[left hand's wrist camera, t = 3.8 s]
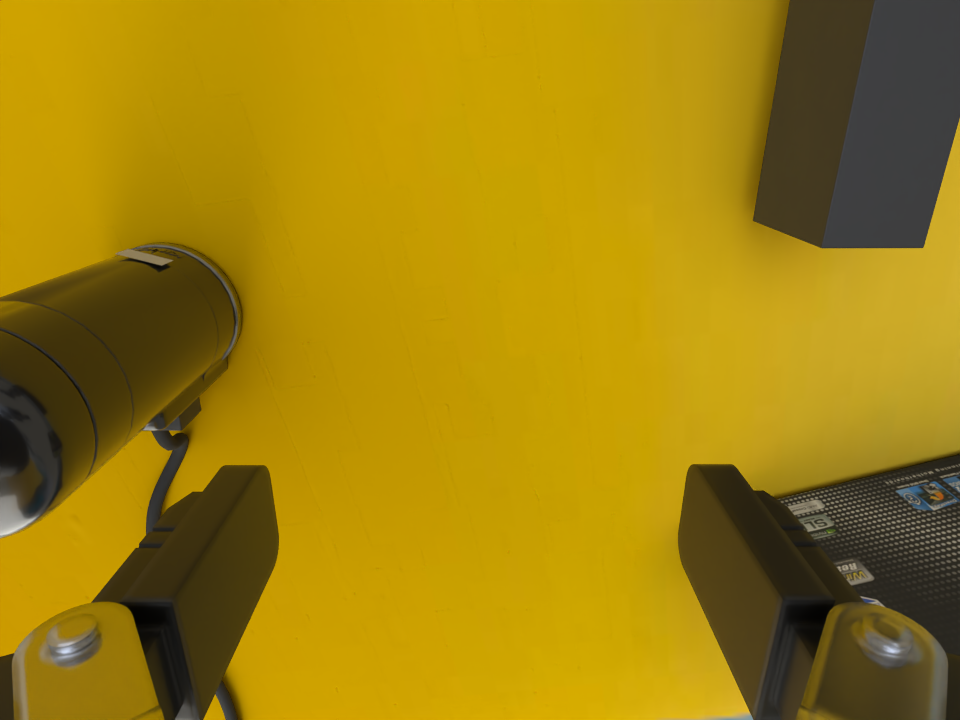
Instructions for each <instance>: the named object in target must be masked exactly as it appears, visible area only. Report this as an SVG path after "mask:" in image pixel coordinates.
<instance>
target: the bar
mask: <svg viewBox="0 0 960 720" xmlns="http://www.w3.org/2000/svg"><path fill="white" fill-rule="evenodd" d="M959 118H960V0H790V4H789V10H788V16H787V22H786V28H785V34H784V39H783V45H782V51H781V57H780V63H779V69H778V75H777V81H776V87H775V93H774V99H773V105H772V111H771V117H770V122H769V128H768V134H767V140H766V146H765V152H764V158H763V164H762V170H761V176H760V182H759V188H758V194H757V200H756V206H755V211H754V217H753V221H755V222H757V223H760V224H762V225H765V226H767V227H770V228H772V229H775V230H778V231H780V232H783V233H785V234H788V235H790V236H793V237H795V238H798V239H800V240H803V241H805V242H808V243H810V244H813V245H815V246H818V247H820V248H923V247H924V244H925V240H926V236H927V233H928V229H929V226H930V222H931V218H932V215H933V211H934V208H935V204H936V201H937V197H938V193H939V190H940V186H941V183H942V179H943V176H944V172H945V168H946V165H947V161H948V158H949V154H950V151H951V147H952V143H953V140H954V136H955V133H956V129H957V125H958V122H959Z"/></svg>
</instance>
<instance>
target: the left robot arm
mask: <svg viewBox="0 0 960 720" xmlns="http://www.w3.org/2000/svg"><path fill="white" fill-rule="evenodd" d="M116 254H118V255H117V256H115V257H113V258H110V259H107V260H104V261H101V262H98V263H95V264H93V265H90V266H87V267H84V268H81V269H79V270H76V271H73V272H70V273H67V274H65V275H62V276H59V277H56V278H54V279H51V280H48V281H45V282H42V283H40V284H37V285H34V286H31V287H28V288H26V289H23V290H20V291H17V292H14V293H12V294H9V295H6V296H3V297H0V539H1V538H4V537H7V536H10V535H13V534H16V533H19V532H21V531H23V530H25V529H27V528H29V527H31V526H33V525H34V524H36V523H38V522H39V521H41V520H42V519H44V518H45V517H46V516H48V515H49V514H50V513H51V512H53V511H54V510H55V509H56V508H57V507H58V506H60V505H61V504H62V503H63V502H64V501H65V500H66V499H67V498H68V497H69V496H71V495H72V494H73V493H74V492H75V491H76V490H77V489H78V488H79V487H80V486H81V485H83V484H84V483H85V482H86V481H87V480H88V479H89V478H90V477H91V476H93V475H94V474H95V473H96V472H97V471H98V470H99V469H100V468H101V467H102V466H104V465H105V464H106V463H107V462H108V461H109V460H110V459H111V458H112V457H114V456H115V454H117V453H118V452H119V451H120V450H121V449H122V448H123V447H124V446H125V445H127V444H128V443H129V442H130V441H131V440H132V439H133V438H134V437H135V436H137V435H138V434H139V433H140V432H141V431H152V433H153V435H154V437H155V439H156V440H157V442H158V443H159V445H160V446H162V447H163V448H165V449H166V450H173V451H172V454H171V456H170V458H169V460H168V462H167V464H166V466H165V468H164V470H163V472H162V474H161V476H160V478H159V480H158V482H157V484H156V486H155V489H154V491H153V494H152V497H151V500H150V503H149V507H148V512H147V521H146V536H145V537H144V539H143V540H142V541H141V542H140V544H139V548H135V550H134V551H133V552H132V553H131V555H130V556H129V557H128V558H127V559H126V561H125V562H124V563H123V564H122V566H121V567H120V568H119V569H118V571H117V572H116V573H115V574H114V575H113V577H112V578H111V579H110V580H109V582H108V583H107V584H106V585H105V586H104V588H103V589H102V590H101V591H100V593H99V594H98V595H97V596H96V597H95V599H94V600H93V601H92V602H91V603H88V604H84V605H80V606H77V607H74V608H71V609H69V610H66V611H64V612H62V613H59V614H58V615H56V616H54V617H52V618H50V619H49V620H47V621H45V622H44V623H42V624H41V625H40V626H38V627H37V628H36V629H34V630H33V631H32V632H31V633H30V634H29V635H28V636H27V637H26V638H25V639H24V640H23V641H22V642H21V644H20V645H19V646H18V648H17V650H16V651H15V653H13V654H10V655H6V656H2V657H0V720H203V719H204V717H205V714H206V712H207V710H208V708H209V706H210V704H211V702H212V699H213V697H214V695H215V694H216V696H217V698H218V700H219V702H220V704H221V707H222V710H223V712H224V715H225V719H226V720H238V719H237V715H236V711H235V708H234V705H233V702H232V699H231V697H230V695H229V693H228V691H227V689H226V687H225V685H224V683H223V681H222V678H223V676H224V674H225V672H226V669H227V667H228V665H229V663H230V661H231V659H232V657H233V654H234V652H235V650H236V648H237V646H238V644H239V642H240V639H241V637H242V635H243V633H244V631H245V629H246V627H247V624H248V622H249V620H250V618H251V616H252V614H253V612H254V609H255V607H256V605H257V603H258V601H259V599H260V597H261V594H262V592H263V590H264V588H265V586H266V584H267V582H268V579H269V577H270V575H271V573H272V571H273V569H274V566H275V563H276V559H277V555H278V547H279V534H278V526H277V519H276V512H275V506H274V499H273V492H272V485H271V478H270V474H269V471H268V469H267V467H266V466H264V465H225V466H223V467H221V468H220V470H219V471H218V472H217V474H216V475H215V476H214V478H213V479H212V480H211V481H210V483H209V484H208V485H207V487H206V488H205V489H204V491H203V492H192V493H190V494H189V495H187V496H186V497H184V498H183V499H181V500H180V501H178V502H177V503H175V504H174V505H172V506H171V507H169V508H168V509H167V510H166V512H165V513H164V514H163V515H162V517H161V518H160V513H161V507H162V504H163V500H164V497H165V495H166V492H167V490H168V488H169V486H170V484H171V482H172V480H173V478H174V476H175V474H176V472H177V470H178V468H179V466H180V464H181V462H182V460H183V458H184V455H185V453H186V450H187V447H188V437H187V435H186V434H184V433H177V434H175V435H174V436H172V435H171V434H170V432H169V430H182V429H183V428H184V427H185V426H186V425H187V424H188V423H189V422H190V421H191V420H192V419H193V418H194V417H195V416H196V415H197V414H198V413H199V412H200V411H201V405H200V400H199V396H200V395H201V394H202V393H203V392H204V391H205V390H206V389H207V388H208V387H209V386H210V385H211V384H212V383H214V382H215V381H216V380H217V379H218V378H219V377H220V376H221V375H222V374H223V373H224V372H225V371H226V370H227V369H228V364H227V356H228V355H229V353H230V352H231V351H232V350H233V348H234V346H235V345H236V343H237V341H238V338H239V335H240V331H241V325H242V313H241V306H240V302H239V299H238V296H237V294H236V291H235V289H234V287H233V285H232V284H231V282H230V281H229V279H228V278H227V276H226V275H225V274H224V273H223V271H222V270H221V269H220V268H219V267H218V266H217V265H216V264H215V263H213V262H212V261H211V260H210V259H208V258H207V257H205V256H204V255H202V254H200V253H199V252H197V251H195V250H192V249H190V248H188V247H185V246H182V245H177V244H172V243H151V244H146V245H142V246H139V247H136V248H133V249H127V250H124V251H121V252H119V253H116ZM803 527H804V526H803V525H802V524H801V523H800V521H799V520H798V519H797V518H796V516H795V515H794V514H793V513H792V511H791V510H790V509H789V508H788V507H787V506H786V505H784V504H783V503H781V502H780V501H778V500H777V499H775V498H774V497H772V496H771V495H769V494H768V493H766V492H765V491H753V489H752V488H751V487H750V485H749V484H748V483H747V481H746V480H745V479H744V477H743V476H742V475H741V473H740V472H739V471H738V469H737V468H736V467H735V466H734V465H732V464H693V465H691V466H690V467H689V469H688V472H687V476H686V483H685V490H684V497H683V504H682V511H681V518H680V525H679V532H678V546H679V553H680V558H681V562H682V565H683V568H684V570H685V572H686V574H687V576H688V578H689V581H690V583H691V585H692V587H693V589H694V592H695V594H696V596H697V598H698V600H699V602H700V605H701V607H702V609H703V611H704V613H705V615H706V618H707V620H708V622H709V624H710V626H711V628H712V631H713V633H714V635H715V637H716V639H717V641H718V644H719V646H720V648H721V650H722V652H723V654H724V657H725V659H726V661H727V663H728V665H729V667H730V670H731V672H732V674H733V676H734V678H735V680H736V683H737V685H738V687H739V689H740V691H741V693H742V696H743V698H744V700H745V702H746V704H747V707H748V709H749V711H750V713H751V715H752V717H753V720H960V656H958V655H954V654H950V653H946V652H945V651H944V650H943V648H942V646H941V645H940V644H939V642H938V641H937V640H936V639H935V638H934V637H933V636H932V635H931V634H930V633H929V632H928V631H927V630H926V629H924V628H923V627H922V626H920V625H919V624H918V623H916V622H915V621H913V620H911V619H910V618H908V617H906V616H904V615H902V614H901V613H898V612H896V611H894V610H891V609H889V608H886V607H883V606H880V605H876V604H872V603H865V602H864V601H863V599H862V598H861V597H860V596H859V594H858V593H857V592H856V591H855V589H854V588H853V587H852V586H851V584H850V583H849V582H848V581H847V579H846V578H845V577H844V576H843V575H842V573H841V572H840V571H839V570H838V568H837V567H836V566H835V565H834V563H833V562H832V561H831V560H830V558H829V557H828V556H827V555H826V554H825V552H824V551H823V550H822V549H821V547H817V544H816V543H817V542H816V541H815V540H814V539H813V537H812V536H811V535H810V534H809V532H808V531H807V530H804V528H803Z"/></svg>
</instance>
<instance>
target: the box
mask: <svg viewBox="0 0 960 720" xmlns="http://www.w3.org/2000/svg"><path fill="white" fill-rule="evenodd" d="M777 500H778V501H780V502H781V503H783V504H784V505H786V506H787V507H788V508H789V509H790V510H791V511H792V513H793V514H794V515H795V516H796V518H797V519H798V520H799V521H800V523H801V524H802V525H803V526H804V527H803V528H804V530H807V531H808V532H809V534H810V535H811V536H812V537H813V539H814V540H815V541H816V542H817V543H816V544H817V547H821V549H822V550H823V551H824V552H825V554H826V555H827V556H828V557H829V558H830V560H831V561H832V562H833V563H834V565H835V566H836V567H837V568H838V570H839V571H840V572H841V573H842V575H843V576H844V577H845V578H846V579H847V581H848V582H849V583H850V584H851V586H852V587H853V588H854V589H855V591H856V592H857V593H858V594H859V596H860V597H861V598H862V599H863V601H864V602H865V603H872V604H876V605H880V606H883V607H886V608H889V609H891V610H894V611H896V612H898V613H901V614H902V615H904V616H906V617H908V618H910V619H911V620H913V621H915V622H916V623H918V624H919V625H920V626H922V627H923V628H924V629H926V630H927V631H928V632H929V633H930V634H931V635H932V636H933V637H934V638H935V639H936V640H937V641H938V642H939V644H940V645H941V646H942V648H943V650H944V651H945V652H946V653H950V654H954V655H958V656H960V455H956V456H952V457H948V458H944V459H939V460H935V461H931V462H927V463H923V464H919V465H915V466H911V467H907V468H903V469H899V470H895V471H891V472H887V473H882V474H878V475H874V476H870V477H866V478H861V479H857V480H853V481H849V482H846V483H842V484H838V485H834V486H830V487H825V488H821V489H817V490H813V491H809V492H805V493H801V494H797V495H793V496H789V497H784V498H780V499H777Z"/></svg>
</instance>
